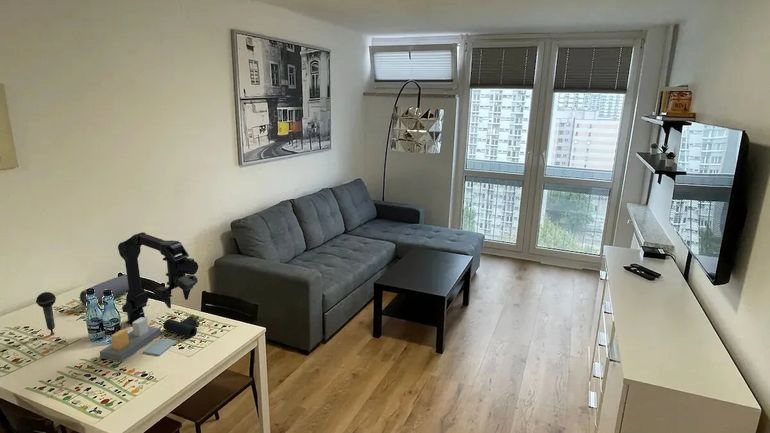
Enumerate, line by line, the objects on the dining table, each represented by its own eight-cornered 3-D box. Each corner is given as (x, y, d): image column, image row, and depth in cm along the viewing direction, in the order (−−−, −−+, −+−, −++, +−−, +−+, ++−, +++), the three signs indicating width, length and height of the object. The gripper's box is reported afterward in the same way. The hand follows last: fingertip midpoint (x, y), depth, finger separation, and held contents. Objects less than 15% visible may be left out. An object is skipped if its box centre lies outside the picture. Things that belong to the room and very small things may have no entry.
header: (100, 358, 175) (99, 351, 175) (141, 331, 196) (141, 325, 195) (121, 361, 173) (120, 355, 173) (161, 334, 194) (160, 328, 193)
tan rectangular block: (114, 355, 177) (111, 335, 175) (123, 348, 182) (121, 329, 180) (120, 356, 177) (117, 336, 175) (130, 350, 182) (127, 330, 179)
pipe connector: (183, 310, 205) (207, 317, 199) (185, 320, 207) (208, 328, 201) (162, 321, 195) (187, 329, 189) (164, 332, 197) (188, 340, 191)
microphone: (39, 336, 190) (31, 293, 184) (57, 329, 195) (49, 288, 190) (48, 340, 186) (39, 297, 181) (65, 333, 192) (58, 291, 187)
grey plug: (134, 341, 188) (132, 322, 186) (143, 335, 193) (141, 317, 190) (140, 342, 187) (138, 323, 185) (149, 336, 192) (147, 318, 190)
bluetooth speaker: (122, 289, 237) (119, 272, 234) (134, 292, 234) (132, 275, 231) (80, 307, 216) (77, 288, 214) (93, 310, 213) (90, 291, 211)
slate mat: (142, 352, 180) (142, 351, 180) (161, 339, 190) (161, 338, 190) (159, 355, 178) (159, 354, 178) (177, 341, 188) (177, 340, 188)
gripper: (171, 281, 177) (174, 316, 181) (205, 266, 194) (208, 299, 198) (151, 276, 181) (154, 311, 185) (186, 262, 198) (189, 294, 202)
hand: (178, 303), depth 193 cm, fingers open, 9 cm apart
